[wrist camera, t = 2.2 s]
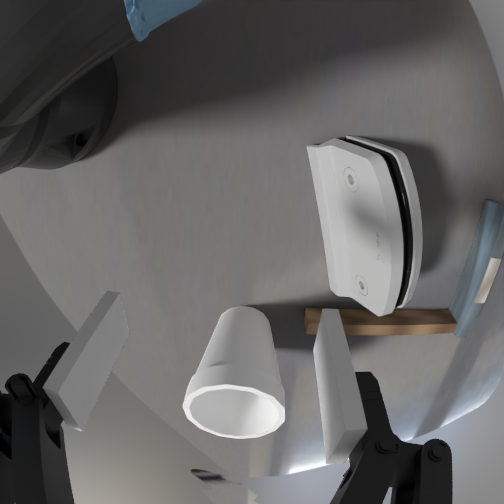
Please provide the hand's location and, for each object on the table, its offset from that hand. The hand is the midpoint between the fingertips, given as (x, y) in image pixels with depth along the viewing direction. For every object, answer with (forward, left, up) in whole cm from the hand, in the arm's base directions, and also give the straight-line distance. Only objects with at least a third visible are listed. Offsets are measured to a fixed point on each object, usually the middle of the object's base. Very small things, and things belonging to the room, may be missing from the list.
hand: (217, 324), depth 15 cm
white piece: (+11, 0, -18) cm, 21 cm away
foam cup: (+1, -15, -18) cm, 23 cm away
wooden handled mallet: (+19, -5, -18) cm, 26 cm away
